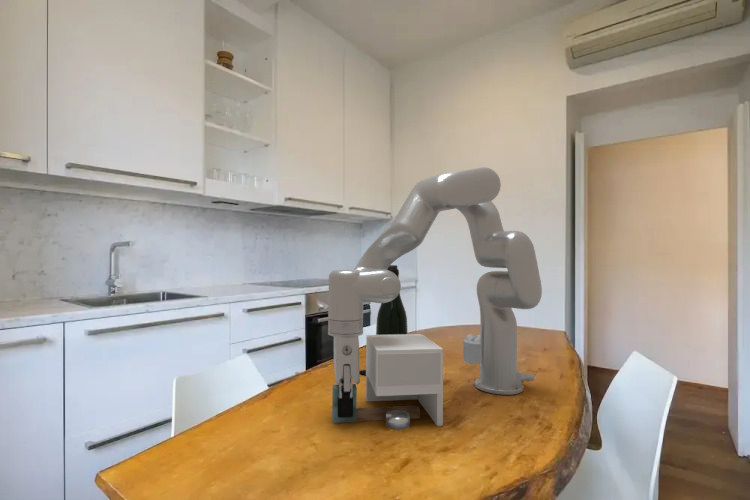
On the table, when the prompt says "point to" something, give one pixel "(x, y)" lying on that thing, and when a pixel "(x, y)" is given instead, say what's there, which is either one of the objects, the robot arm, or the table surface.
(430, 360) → the cabinet
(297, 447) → the table surface
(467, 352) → the lumpy-topped squat cylinder
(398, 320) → the dark green wine bottle
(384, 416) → the mallet
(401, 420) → the silver metal dome
